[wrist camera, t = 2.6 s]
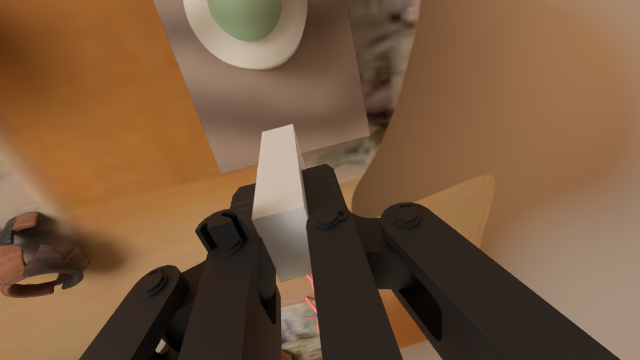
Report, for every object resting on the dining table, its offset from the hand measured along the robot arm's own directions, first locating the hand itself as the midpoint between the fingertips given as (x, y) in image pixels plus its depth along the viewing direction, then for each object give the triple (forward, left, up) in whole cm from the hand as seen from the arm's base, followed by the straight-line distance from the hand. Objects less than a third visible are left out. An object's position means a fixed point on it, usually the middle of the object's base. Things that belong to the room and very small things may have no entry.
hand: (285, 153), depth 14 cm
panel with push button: (-5, 0, -14) cm, 15 cm away
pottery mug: (+13, -36, -20) cm, 43 cm away
